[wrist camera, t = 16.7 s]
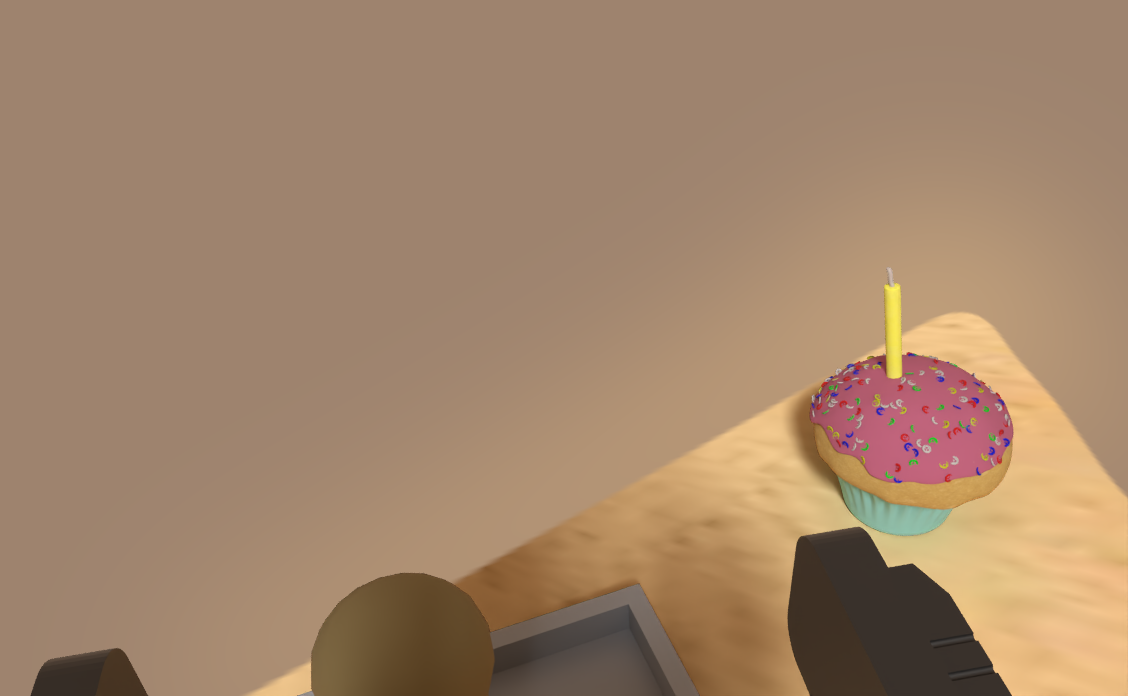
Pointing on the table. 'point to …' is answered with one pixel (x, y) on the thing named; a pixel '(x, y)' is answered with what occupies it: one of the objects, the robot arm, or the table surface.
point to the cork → (403, 642)
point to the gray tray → (589, 652)
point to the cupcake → (910, 434)
